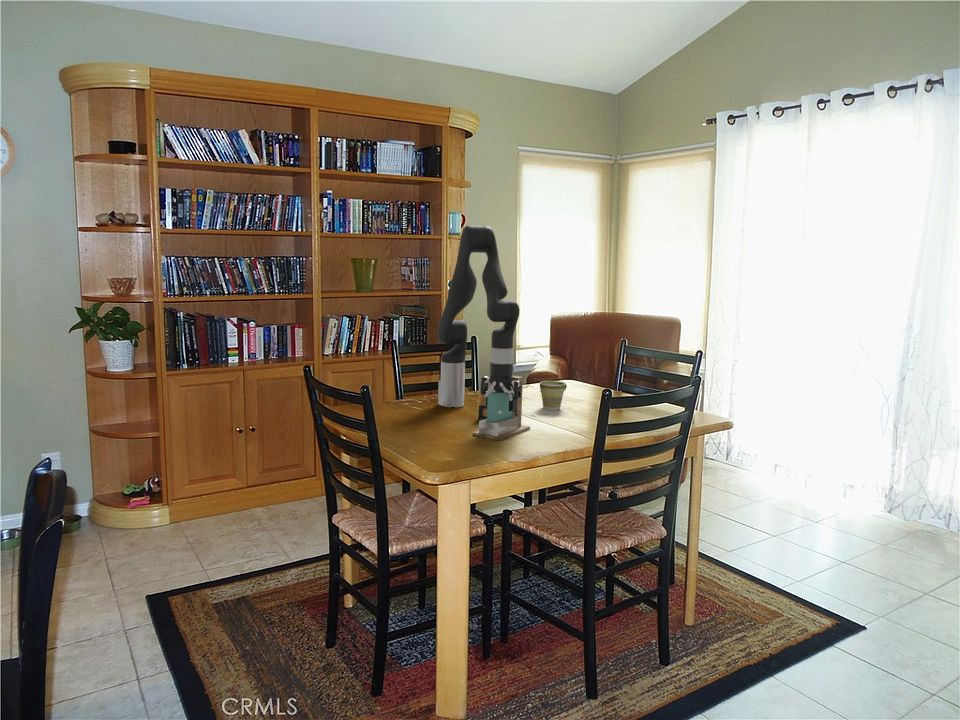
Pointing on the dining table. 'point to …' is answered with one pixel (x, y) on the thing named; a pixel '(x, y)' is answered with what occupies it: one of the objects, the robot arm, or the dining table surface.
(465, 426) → the dining table surface
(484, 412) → the ammunition clip
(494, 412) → the teal door
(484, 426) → the hinge frame
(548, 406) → the ceramic cup
